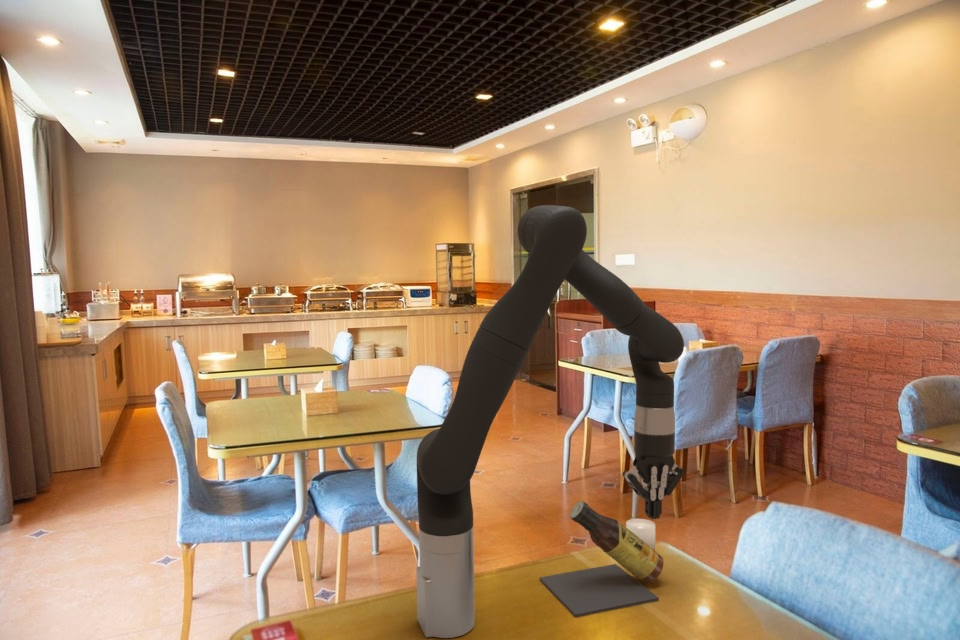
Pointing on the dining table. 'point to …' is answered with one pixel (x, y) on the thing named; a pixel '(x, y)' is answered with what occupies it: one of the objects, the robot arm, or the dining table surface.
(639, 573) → the sauce bottle
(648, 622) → the dining table surface
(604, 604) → the bar mat
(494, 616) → the dining table surface
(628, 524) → the white rounded cylinder
